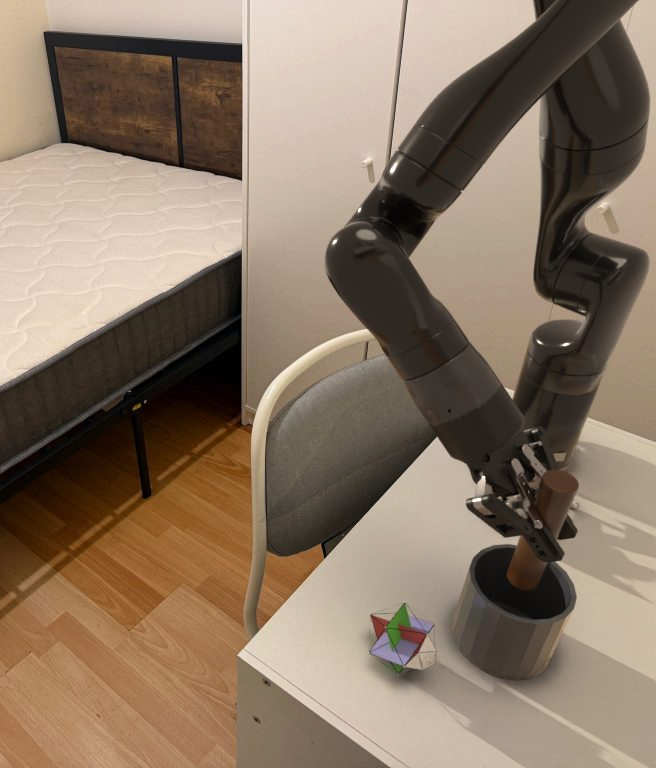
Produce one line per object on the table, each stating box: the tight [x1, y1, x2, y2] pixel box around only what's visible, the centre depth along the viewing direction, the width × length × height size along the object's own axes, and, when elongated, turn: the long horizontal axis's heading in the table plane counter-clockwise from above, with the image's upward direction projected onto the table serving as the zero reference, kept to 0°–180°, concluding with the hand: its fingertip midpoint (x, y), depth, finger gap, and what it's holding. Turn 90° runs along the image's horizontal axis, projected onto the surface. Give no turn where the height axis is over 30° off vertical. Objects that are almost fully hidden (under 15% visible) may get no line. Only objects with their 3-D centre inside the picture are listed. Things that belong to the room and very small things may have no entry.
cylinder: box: [507, 470, 580, 591], centre depth 71 cm, size 3×3×14 cm
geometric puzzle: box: [367, 601, 437, 676], centre depth 79 cm, size 7×7×8 cm
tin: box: [451, 543, 578, 681], centre depth 78 cm, size 10×10×10 cm
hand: (560, 547), depth 70 cm, fingers closed on cylinder, 3 cm apart
